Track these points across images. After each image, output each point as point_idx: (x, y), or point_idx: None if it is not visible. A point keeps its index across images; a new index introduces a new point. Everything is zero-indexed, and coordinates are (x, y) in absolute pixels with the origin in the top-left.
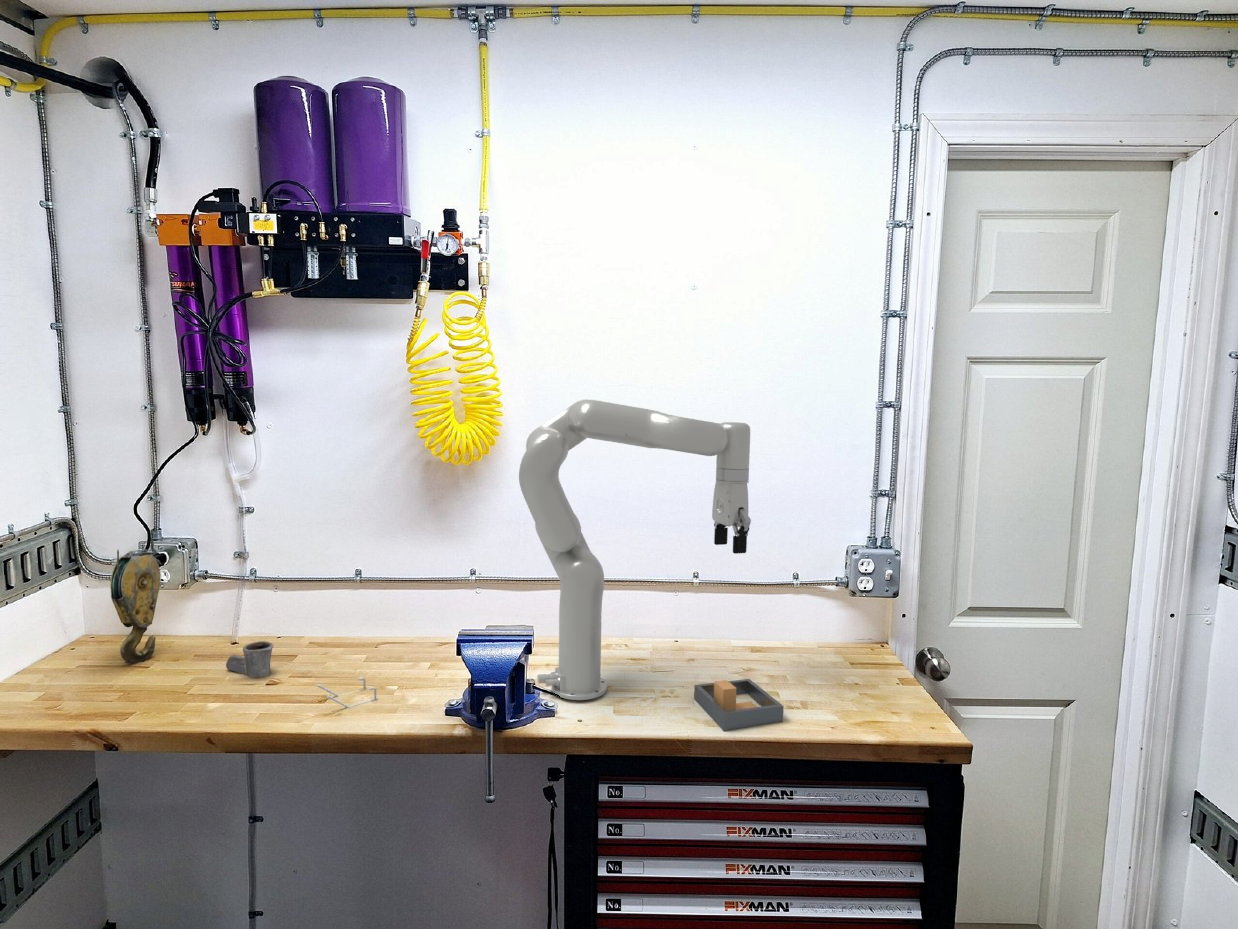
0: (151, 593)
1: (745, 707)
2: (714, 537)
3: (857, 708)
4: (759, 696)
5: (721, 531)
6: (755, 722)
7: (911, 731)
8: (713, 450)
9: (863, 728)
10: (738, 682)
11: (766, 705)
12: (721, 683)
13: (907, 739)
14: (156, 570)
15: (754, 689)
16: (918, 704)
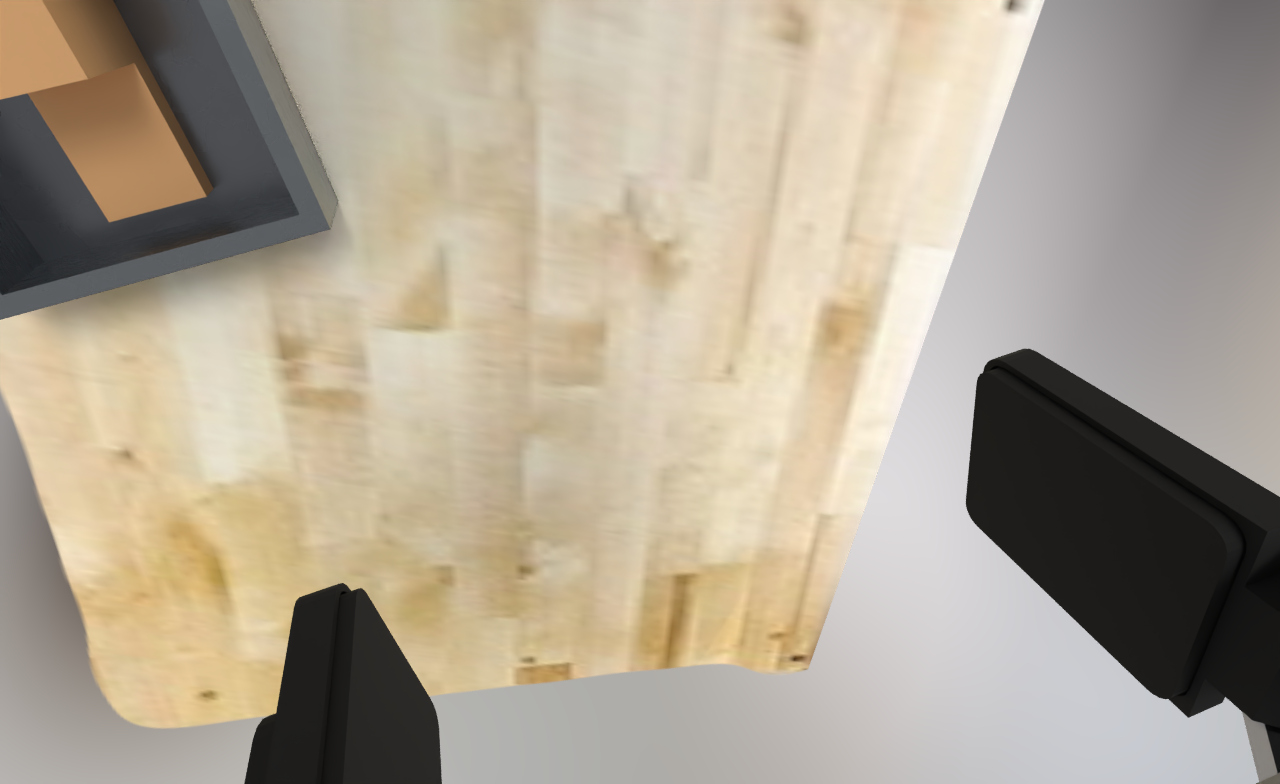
0: None
1: (121, 156)
2: (1112, 400)
3: (320, 547)
4: (181, 240)
5: (1151, 584)
6: None
7: (162, 649)
8: None
9: (146, 540)
10: (278, 166)
11: (117, 253)
12: (14, 30)
13: (91, 634)
14: None
15: (228, 230)
16: None
